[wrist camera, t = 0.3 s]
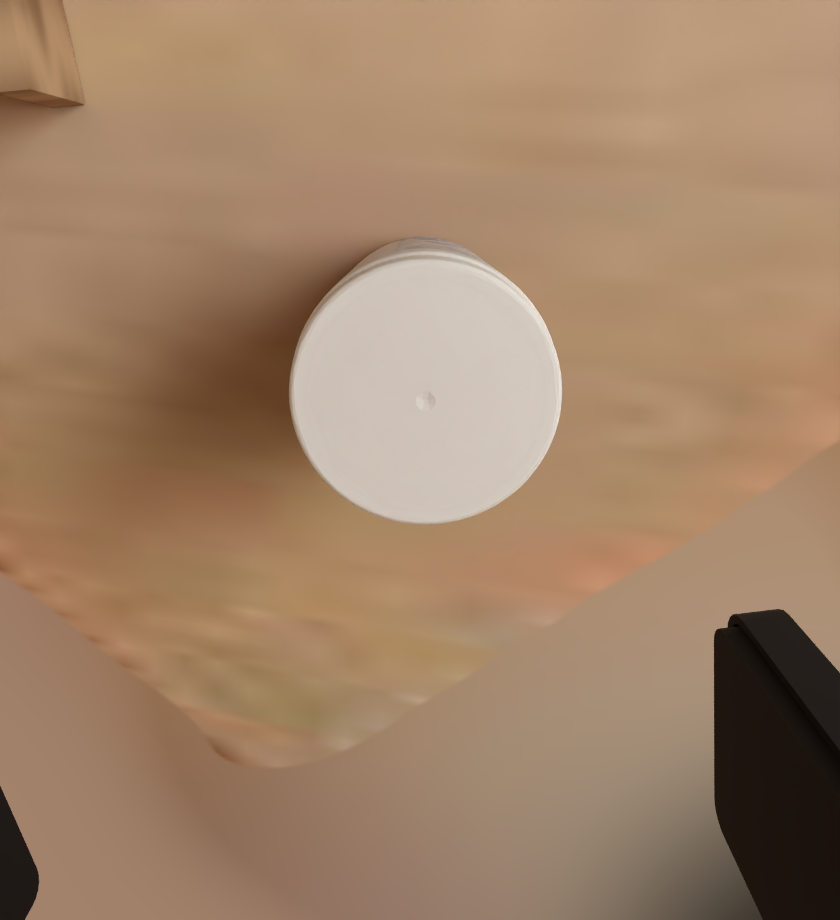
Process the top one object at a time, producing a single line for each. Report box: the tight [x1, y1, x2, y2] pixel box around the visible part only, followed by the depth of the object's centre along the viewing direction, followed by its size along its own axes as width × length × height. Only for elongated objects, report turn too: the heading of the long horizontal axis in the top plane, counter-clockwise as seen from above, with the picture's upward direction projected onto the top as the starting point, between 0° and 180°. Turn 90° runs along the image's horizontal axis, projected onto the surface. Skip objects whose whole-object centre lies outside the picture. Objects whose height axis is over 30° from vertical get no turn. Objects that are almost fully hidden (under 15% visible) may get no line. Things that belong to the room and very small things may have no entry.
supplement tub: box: [289, 237, 562, 524], centre depth 31 cm, size 10×10×15 cm
